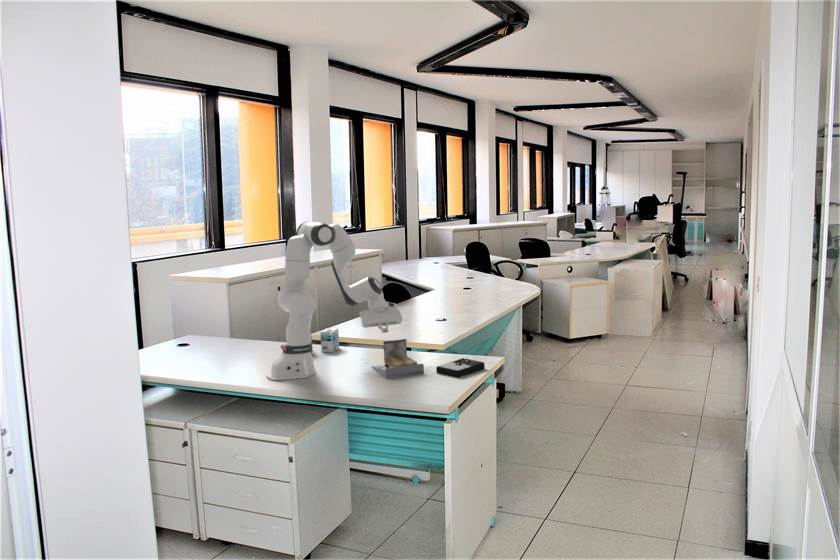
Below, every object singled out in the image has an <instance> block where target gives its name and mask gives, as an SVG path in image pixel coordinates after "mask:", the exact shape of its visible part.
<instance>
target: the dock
mask: <svg viewBox="0 0 840 560" xmlns="http://www.w3.org/2000/svg"><path fill="white" fill-rule="evenodd" d="M370 368H371V369H373V370H374V371H375V372H377V373H378V374H379V375H380V376H382V377H383V378H384V379H386V380H387V379H395V378H400V377H408V376H409V375H410V376H416V374H417V375H424V374H423V373H425V372H424V371H425V369H424V363H417V364H415V365H407V366H400V367H390V366H389V367H388V368H387V367H385V364H382V365H381V364H380V365H372V366H370Z"/></svg>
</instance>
